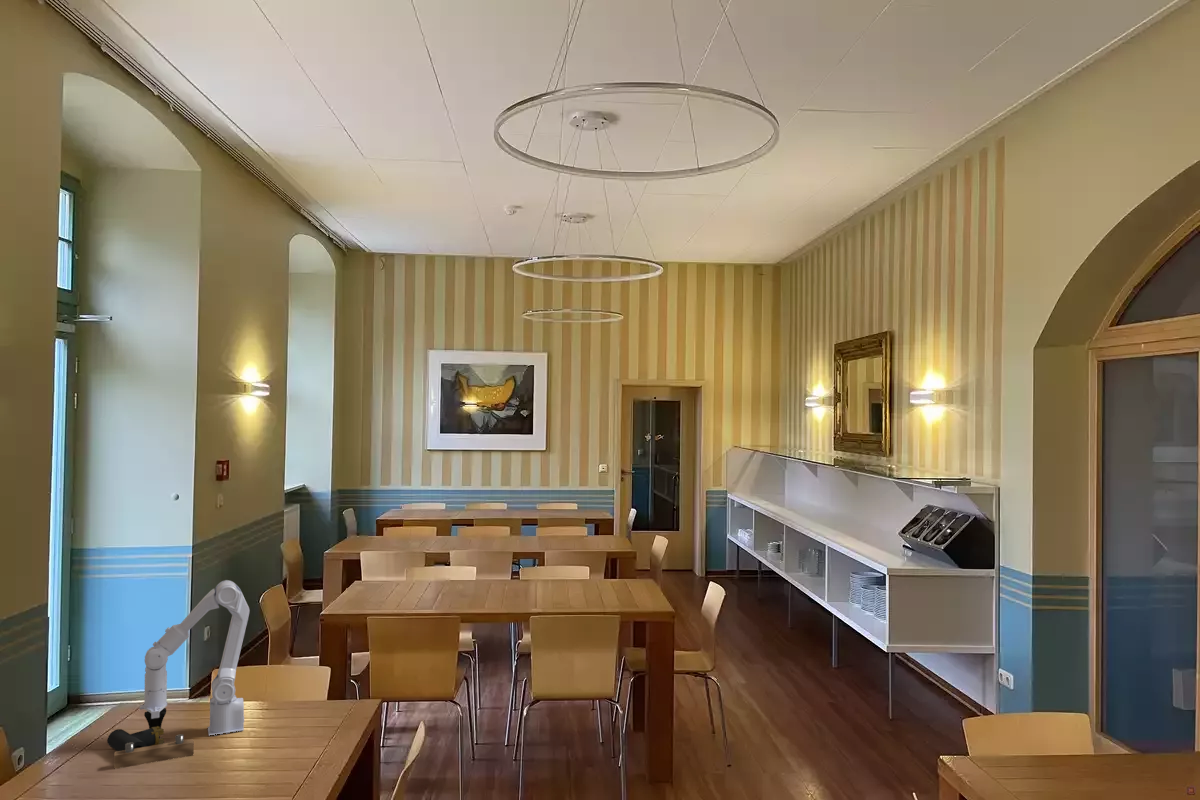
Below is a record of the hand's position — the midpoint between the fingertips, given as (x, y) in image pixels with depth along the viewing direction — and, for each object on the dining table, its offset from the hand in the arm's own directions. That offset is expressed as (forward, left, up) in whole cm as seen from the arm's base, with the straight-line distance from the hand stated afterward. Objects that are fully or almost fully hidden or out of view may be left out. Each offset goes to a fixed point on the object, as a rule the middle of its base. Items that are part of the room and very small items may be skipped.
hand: (155, 736), depth 238 cm
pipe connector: (+4, +6, -2) cm, 7 cm away
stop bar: (0, +16, -1) cm, 16 cm away
